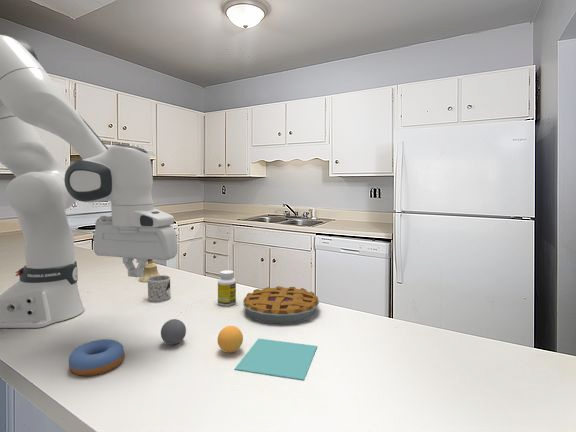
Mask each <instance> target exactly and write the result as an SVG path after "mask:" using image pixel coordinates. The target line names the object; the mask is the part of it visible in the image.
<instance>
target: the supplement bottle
mask: <svg viewBox="0 0 576 432" xmlns="http://www.w3.org/2000/svg"><path fill="white" fill-rule="evenodd" d="M234 276H235V273H234V271H233V270H227V269H226V270H221V271H220V272H219V277H220V278H219V279H218V280H217V304H218V305H219V306H223V307H230V306H233V305H235V304H236V302H237V280H236V278H234Z"/></svg>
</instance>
